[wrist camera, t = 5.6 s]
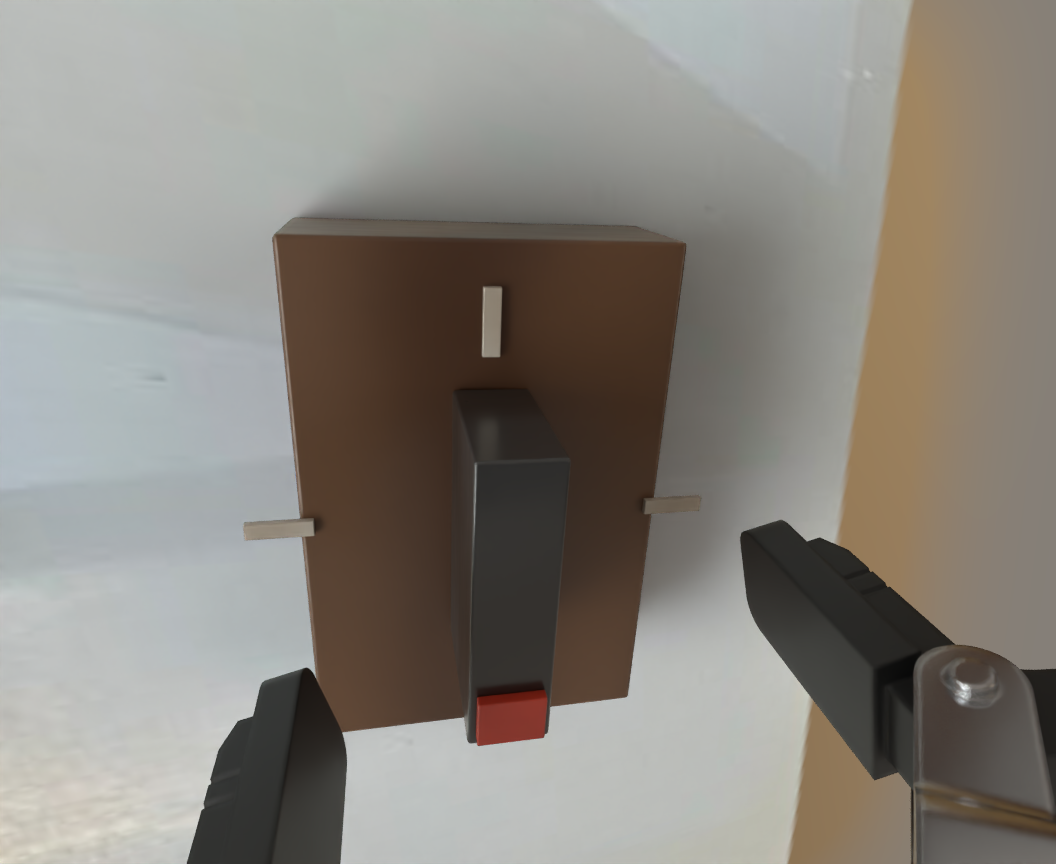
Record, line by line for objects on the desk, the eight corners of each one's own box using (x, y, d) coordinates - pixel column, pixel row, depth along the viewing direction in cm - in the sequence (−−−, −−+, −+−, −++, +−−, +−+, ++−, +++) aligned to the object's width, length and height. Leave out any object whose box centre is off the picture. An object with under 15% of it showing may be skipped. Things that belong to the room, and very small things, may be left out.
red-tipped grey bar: (452, 389, 14) (476, 469, 10) (528, 387, 14) (576, 465, 11) (450, 626, 16) (469, 755, 13) (516, 621, 16) (551, 744, 13)
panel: (680, 226, 17) (742, 244, 14) (630, 623, 21) (669, 698, 18) (237, 215, 14) (202, 233, 12) (289, 657, 19) (273, 747, 16)
